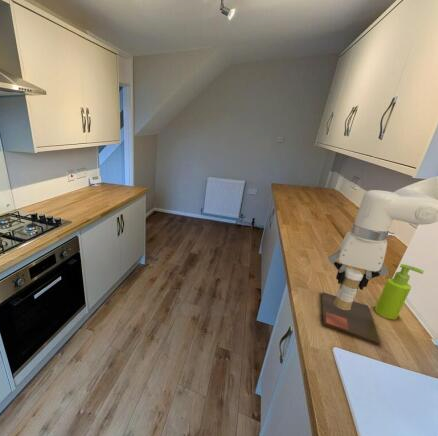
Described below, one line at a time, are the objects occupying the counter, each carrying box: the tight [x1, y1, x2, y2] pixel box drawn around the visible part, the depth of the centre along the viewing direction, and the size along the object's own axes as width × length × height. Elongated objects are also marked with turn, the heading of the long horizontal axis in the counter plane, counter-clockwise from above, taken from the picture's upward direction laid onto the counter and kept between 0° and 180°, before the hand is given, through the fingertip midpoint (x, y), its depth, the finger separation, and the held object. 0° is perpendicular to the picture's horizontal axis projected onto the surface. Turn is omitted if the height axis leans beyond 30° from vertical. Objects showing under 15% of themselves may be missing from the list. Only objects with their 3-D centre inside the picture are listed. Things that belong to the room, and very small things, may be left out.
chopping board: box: [321, 291, 380, 346], centre depth 84 cm, size 20×14×1 cm
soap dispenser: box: [374, 263, 425, 320], centre depth 82 cm, size 6×7×20 cm
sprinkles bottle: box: [334, 267, 364, 310], centre depth 77 cm, size 5×5×14 cm
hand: (349, 284), depth 76 cm, fingers closed on sprinkles bottle, 4 cm apart
